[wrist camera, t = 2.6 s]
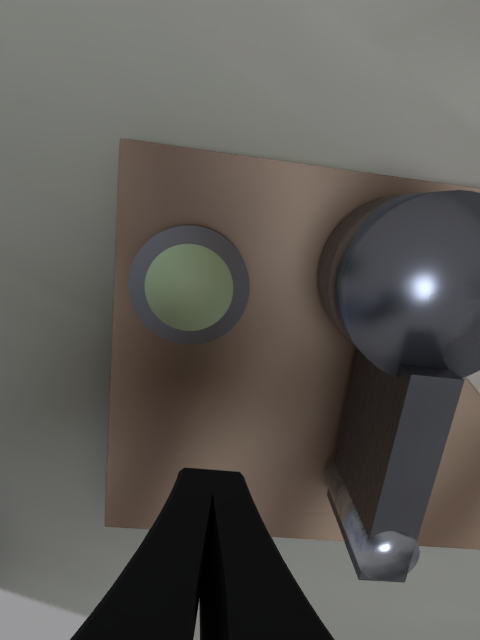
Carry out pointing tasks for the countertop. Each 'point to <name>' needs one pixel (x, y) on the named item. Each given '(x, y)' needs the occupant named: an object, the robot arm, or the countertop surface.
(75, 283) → the countertop surface
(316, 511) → the tribrach board
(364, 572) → the knob
